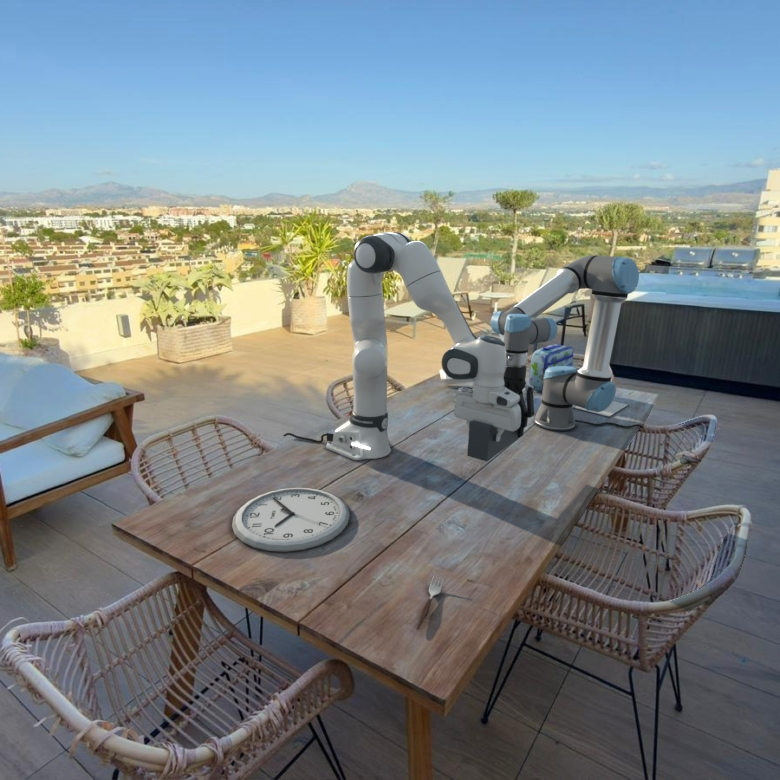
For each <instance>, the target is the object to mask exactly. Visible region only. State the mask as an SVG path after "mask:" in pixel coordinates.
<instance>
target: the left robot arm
mask: <svg viewBox="0 0 780 780" xmlns="http://www.w3.org/2000/svg"><path fill="white" fill-rule="evenodd" d="M352 253H353V260H352V261H350V262H349V264H348V266H347V273H346V294H347V305H348V314H349V323H350V328H351V333H352V340H353V341H352V342H353V352H352V356H351V367H352V368H351V369H352V370H351V371H352V387H353V409H351V410H350V411H348V412H347V413H346V417H349V418H348V420H346V421H345V422H343V423H342V424H341V425H339V426H338V427H336V428H331V429H330V430H329V431H327V432H326V433H323V434H321V436H320V440H317V439H313V438H309V437H304V436H299V435H296V434H294V433H291V432H286V433H284V434H283V435H282V437H287V436H291V437H293V438H296V439H299V440H303V441H310V442H313V443H318V444H319V443H322V442H324V437H326V441H327V443H326V446H325V449H327V450H328V451H331V452H333V453H335V454H338V455H341V456H343V457H345V458H348V459H350V460H353V461H362V460H376V459H381V458H384V457H386V456H388V455H390V454H391V452H392V448H391V445H390V440H389V433H388V425H389V411H388V356H389V353H388V351H389V350H388V339H387V338H388V337H387V327H386V326H387V325H386V316H385V314H386V313H385V304H384V290H383V277H384V275H385V274H386V273H387V272H388V273H392V272H396V273H398V274H399V275H400V278H401V279H402V281H403V284H404V286H405V288H406V290H407V292H408V295H409V297H410V299H411V300H412V301H413V303H414V304H415V306H416V307H417V308H419V309H421V310H422V311H426V312H428V313H430V314H433V315H434V316H437V317H438V318H439V320H441V321H442V323H443V324H444V327H445V329H446V330H447V332H448V334H449V336H450V338H451V340H452V342H453V344H454V345H455V346H454V347H453V346H452V347H451V348H449V349H448V350H447V351H445V352H444V354H443V355H442V357H441V368H442V369H443V371H444V372H445V374H446V375H447V376H448V377H450V378H452V379H458V380H462V379H473V382H472V389H471V388H466V387H459V388H458V389H456V391H455V401H454V405H453V406H454V407H453V415H454V416H455V418H458V419H461V420H465V421H466V426H467V428H469V424H470V422H471V421H473V420H474V421H478V422H482V423H486V424H490V425H493V427H497V431H499V432H498V434H495V435H494V436H493V438H494V439H493V441H497V442H499V441H500V436H501V434H502V433H503V432H504V430H508V431H512V432H513V431H515V430H517V429H518V428H519V427H520V425H521V408H520V406H519V404H518V402H519V401H520V396H519V395H518V394H516V393H514V392H512V391H511V390H509V389H507V388H506V387H504V384H505V382H504V373H505V371H506V346H505V344H504V342H503V341H502V340H501V338H498V337H496V336H491V335H480V336H479V337H477V336H476V335H475V334H474V332H473V331H472V328H471V327H470V325H469V323H468V321H467V319H466V317H465V315H464V314H463V312H462V310H461V308H460V306H459V305H458V303H457V301H456V299H455V297H454V295H453V294H452V292H451V289H450V288H449V285H448V282H447V281H446V279H445V275H444V274H443V272H442V270H441V268H440V265H439V263H438V261H437V260H436V258H435V256H434V255H433V252H431V250H430V249H429V248H428V246H427V245H426V244H425V243H424V242H423V241H418V240H414V241H412V240H411V239H410V238H409V237H408V236H407V235H405V234H403V233H401V232H397V231H395V232H380V233H377V234H373V235H372V234H369V235H367V236H364V237H361V239H359V240H358V241H357V242H356V243H355V245H354V248H353V252H352Z"/></svg>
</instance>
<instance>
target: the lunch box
mask: <svg viewBox="0 0 780 780" xmlns="http://www.w3.org/2000/svg"><path fill="white" fill-rule="evenodd" d="M530 359H531V360H530V366H529V377H528V379H529V380H528V385H530V386H532V385H534V386H535V388H534V391H536V392H541V393H542V391H543V381H544V379H543V378H544V375H545V370H546V369H547V368H549V367H555V366H571V367H573V363H574V347H572V346H568V345H562V344H551V345H547V346H545V347H541V348H539V349H536V350H534V352H533V353H532V355H531V358H530Z"/></svg>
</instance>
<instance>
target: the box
mask: <svg viewBox="0 0 780 780" xmlns="http://www.w3.org/2000/svg"><path fill="white" fill-rule="evenodd" d="M521 417H522V415H521ZM498 432H499V431H497V427H493V425H490V424H486V423H482V422H478V421H474V420H473V421H471V422H470V424H469V427H468V441H467V455H466V456H467V457H470V458H474V459H476V460H480V461H484V462H487V463H488V462H489V461H490V460H492V459H493V458H494V457H495V456H497V455H498V454H499V453H501V452H502V451H503V450H505V449H506V448H508V447H509V446H511V445H512V444H513V443H515V442H516V441H518V440H519V439H520V438H519V437H518V429H517V430H515V431H513V432H512V431H508V430H504V432H503V433H502V434H501V436H500V441H499V442H497V441H493V439H494V438H493V436H494V435H495V434H498Z"/></svg>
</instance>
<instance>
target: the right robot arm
mask: <svg viewBox="0 0 780 780" xmlns="http://www.w3.org/2000/svg"><path fill="white" fill-rule="evenodd" d="M639 271H640V270H639V267H638V265H637V263H636V262H635V260H633V259H632V258H631V257H625V256H613V255H612V256H610V255H595V254H591V255H587V256H586V255H585V256H583V257H580V258H578V259H575V260H573V261H571V262H569V263H568V264H566V265H564V266H563V267H562V268H560V269H559V270H558V271H557V272H556V274H555V276H554V277H553V278H551V279H550V280H548V281H547V282H546V283H544V284H543V285H542V286H540V287H539V288H538V289H536V290H535V291H533V292H532V293H531V294H529V295H528V296H527V297H525V298H523V299H522V300H521V301H519V302H518V303H517V304H515V305H514V306H513V307H511V308H510V309H509V310H507V311H505V310H502V311H501V310H499V311H496V313H495V314H494V315H493V314H492V316H491V318H490V323H489V324H490V328H491V330H492V332H494V333H496V334H498V335H499V334H501V335H504V344H505V346H506V371H505V373H504V382H505V384H504V387H506V388H507V389H509V390H511V391H512V392H514V393H516V394H518V395H519V396H520V401H519V402H518V403H517V404H519V406H520V408H521V415H522V417H521V425H520V427H519V428H518V437H519V439H520V438H522V437H523V436H524V431H525V428H527V427H528V419H530V418H533V416H535V417H534V424H535V425H536V426H537V427H539V428H542V429H544V430H549V431H556V432H567V431H572V430H574V429H575V428H576V423H580V424H586V425H590V426H595V427H596V426H597V427H598V426H603V425H611V426H616V427H619V428H622V429H623V428H624V429H631V428H635V427H639V428H641V429H644V426H643V425H641V424H639V423H635V424H632V425H623V424H618V423H614V422H610V421H606V422H599V423H594V422H589V421H584V420H578V419H576V418H575V417H576V416H575V413H574V407H576V406H578V407H581V408H584V409H586V410H589V411H590V410H591V411H595V412H601V411H603V410H605V409H606V408H607V407H608V406H609V405H610V404H611V403H612V401H614V400H615V398H616V397H615V396H616V392H617V388H616V384H615V383H614V382H612V374H611V373H610V371H609V368H610V362H611V357H612V353H613V347H614V343H615V338H616V333H617V328H618V322H619V318H620V313H621V308H622V303H624V302H625V301H626V300H627V299H628V297H629V294H632V293H633V292H634V291H635V290H636V288H637V287H638V285H639V280H640V272H639ZM585 289H589V290H591V296H592V298H593V299H594V304H593V309H592V314H591V321H590V325H589V332H588V336H587V341H586V342H587V343H586V346H585V353H584V359H583V363H582V367H580V368H579V369H578V368H577V367H575V366H572V367H571V366H555V367H549V368H547V369H546V370H545V375H544V378H543V379H544V381H543V391H542V392H541V393H542V394H541V402H540V405H539V407H538V410H537V411H536V413H535V402H534V391H535V390H534V388H535V386H534V385H532V386H530V385H529V383H527V381H526V377H527V366H526V365H527V364H528V357H529V356H528V355H529V348H530V347H529V346H530V345H532V344H533V345H534V344H539V343H547V342H549V341H552V340H554V339H555V338H556V336H557V334H558V323H557V322H556V321H555V320H554V319H553V318H552V317H544V316H543V317H539V316H540V315H542V314H543V313H545V312H546V311H547V310H548V309H549V308H551V307H552V306H554V305H556V303H558V302H560V301H561V299H563V298H564V297H566V296H567V295H569V294H574V293H576V292H578V290H585ZM525 381H526V382H525ZM524 388H525V389H526V392H527V394H525V396H526V401H525V397H524V391H523V389H524ZM573 406H574V407H573Z"/></svg>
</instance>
